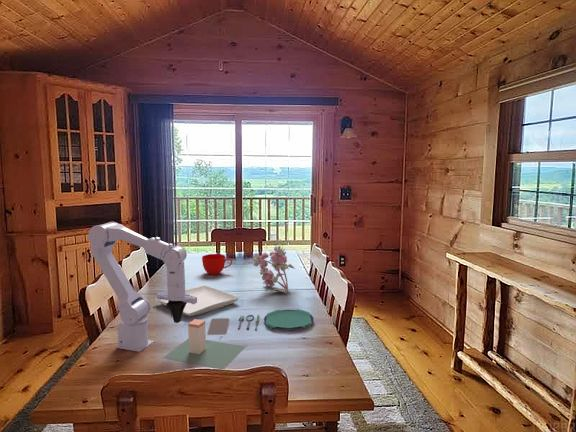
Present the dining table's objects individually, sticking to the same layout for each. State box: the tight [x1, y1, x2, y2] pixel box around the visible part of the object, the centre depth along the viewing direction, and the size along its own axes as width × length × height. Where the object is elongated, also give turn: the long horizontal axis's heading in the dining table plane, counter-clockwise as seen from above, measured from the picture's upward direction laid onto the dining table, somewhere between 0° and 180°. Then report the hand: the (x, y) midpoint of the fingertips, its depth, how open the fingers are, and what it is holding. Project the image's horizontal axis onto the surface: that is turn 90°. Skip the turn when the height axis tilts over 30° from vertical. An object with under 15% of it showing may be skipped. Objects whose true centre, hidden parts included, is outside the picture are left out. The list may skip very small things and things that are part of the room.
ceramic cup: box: [201, 253, 233, 276], centre depth 225 cm, size 13×17×10 cm
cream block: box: [187, 318, 207, 354], centre depth 131 cm, size 4×4×10 cm
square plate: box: [154, 285, 240, 317], centre depth 176 cm, size 27×27×4 cm
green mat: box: [162, 338, 246, 370], centre depth 131 cm, size 22×16×1 cm
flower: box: [249, 245, 296, 295], centre depth 196 cm, size 20×22×25 cm
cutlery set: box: [237, 308, 315, 331], centre depth 157 cm, size 20×30×2 cm, turn 91°
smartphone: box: [206, 317, 231, 336], centre depth 152 cm, size 7×1×15 cm
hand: (177, 321), depth 133 cm, fingers closed
